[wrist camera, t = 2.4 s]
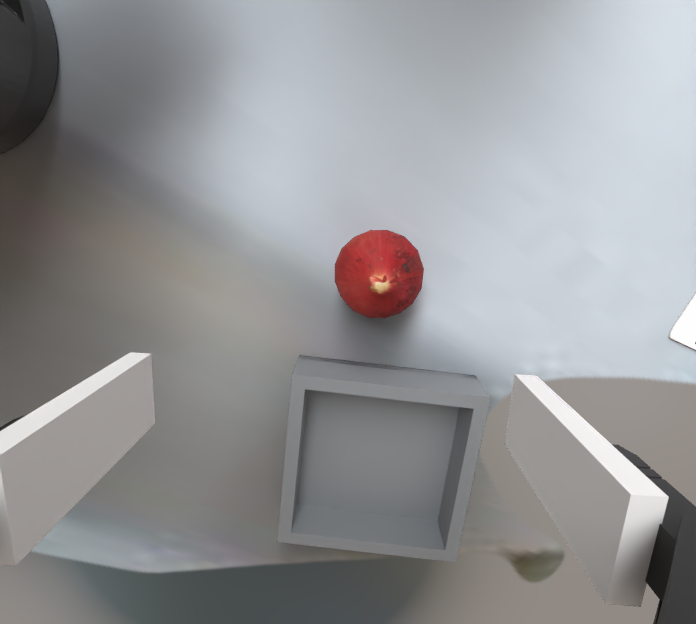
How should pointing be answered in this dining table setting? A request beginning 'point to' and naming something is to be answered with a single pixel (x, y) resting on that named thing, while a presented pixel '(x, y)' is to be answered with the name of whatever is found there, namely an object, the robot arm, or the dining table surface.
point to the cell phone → (686, 325)
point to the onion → (379, 273)
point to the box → (380, 458)
